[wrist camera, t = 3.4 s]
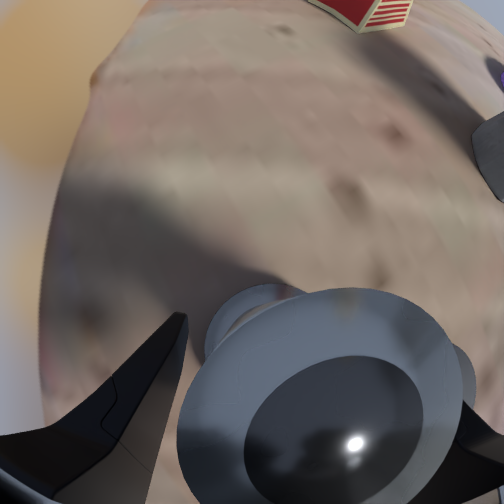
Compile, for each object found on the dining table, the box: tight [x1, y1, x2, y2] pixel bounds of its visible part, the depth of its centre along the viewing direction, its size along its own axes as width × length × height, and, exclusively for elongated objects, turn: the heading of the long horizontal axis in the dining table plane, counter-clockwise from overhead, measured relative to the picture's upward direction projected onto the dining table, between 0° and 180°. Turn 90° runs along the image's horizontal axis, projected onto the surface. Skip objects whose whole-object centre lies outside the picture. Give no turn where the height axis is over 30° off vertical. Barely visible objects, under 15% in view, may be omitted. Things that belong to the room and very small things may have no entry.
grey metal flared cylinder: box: [177, 284, 463, 504], centre depth 10 cm, size 7×7×13 cm
